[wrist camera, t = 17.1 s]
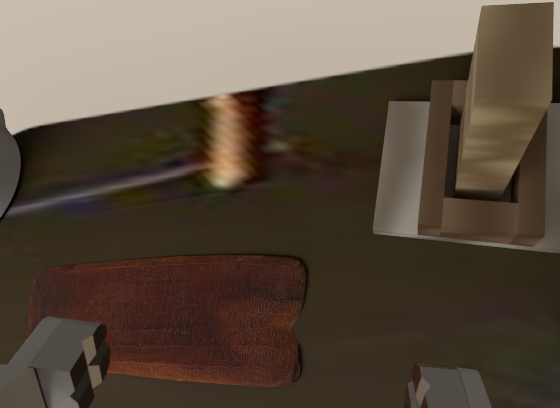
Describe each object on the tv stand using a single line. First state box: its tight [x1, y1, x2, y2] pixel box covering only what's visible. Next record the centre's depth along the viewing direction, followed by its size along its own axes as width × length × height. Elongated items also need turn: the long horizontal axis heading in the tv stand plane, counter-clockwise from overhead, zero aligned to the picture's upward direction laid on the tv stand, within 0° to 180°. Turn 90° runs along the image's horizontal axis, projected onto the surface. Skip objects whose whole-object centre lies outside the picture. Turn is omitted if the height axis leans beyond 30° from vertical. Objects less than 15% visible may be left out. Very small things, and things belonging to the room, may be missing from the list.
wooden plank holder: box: [373, 80, 560, 253], centre depth 32 cm, size 14×11×4 cm
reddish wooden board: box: [25, 255, 306, 387], centre depth 38 cm, size 27×10×2 cm, turn 87°
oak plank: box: [453, 2, 554, 202], centre depth 26 cm, size 3×5×14 cm, turn 169°
